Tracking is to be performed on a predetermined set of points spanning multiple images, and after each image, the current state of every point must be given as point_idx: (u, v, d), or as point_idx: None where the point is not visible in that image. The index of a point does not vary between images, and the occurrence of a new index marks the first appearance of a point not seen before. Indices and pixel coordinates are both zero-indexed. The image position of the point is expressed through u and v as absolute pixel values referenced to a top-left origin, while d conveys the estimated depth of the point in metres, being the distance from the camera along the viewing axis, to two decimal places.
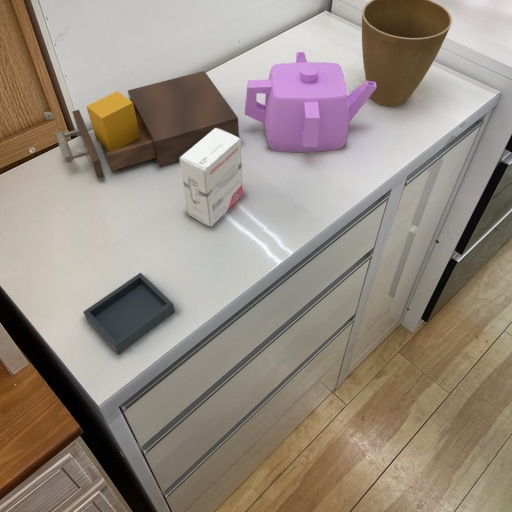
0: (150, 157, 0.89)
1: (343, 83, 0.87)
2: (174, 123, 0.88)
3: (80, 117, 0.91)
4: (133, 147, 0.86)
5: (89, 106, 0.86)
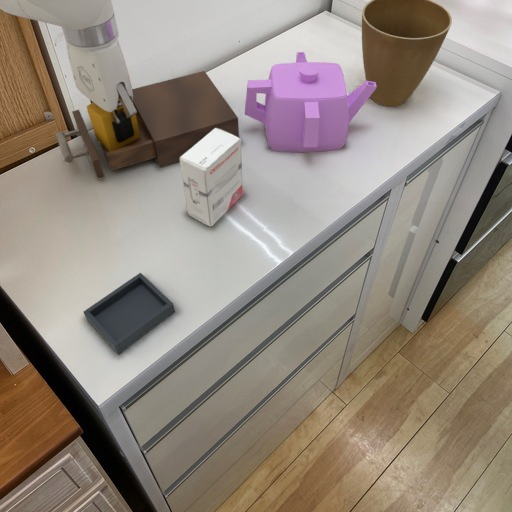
0: (150, 157, 0.89)
1: (343, 83, 0.87)
2: (174, 123, 0.88)
3: (80, 117, 0.91)
4: (133, 147, 0.86)
5: (89, 106, 0.86)
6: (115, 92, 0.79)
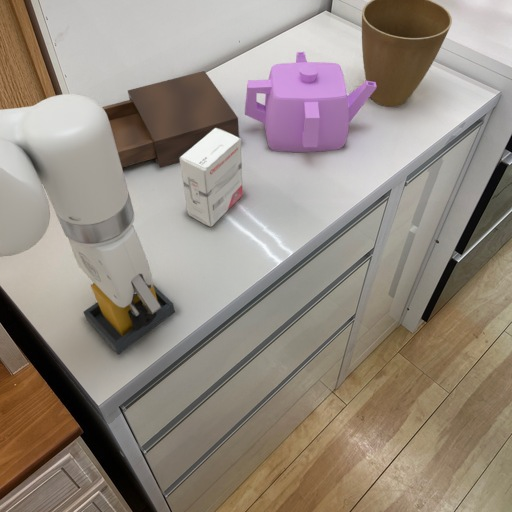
0: (150, 157, 0.89)
1: (343, 83, 0.87)
2: (174, 123, 0.88)
3: None
4: (133, 147, 0.86)
5: (94, 286, 0.65)
6: (130, 288, 0.59)
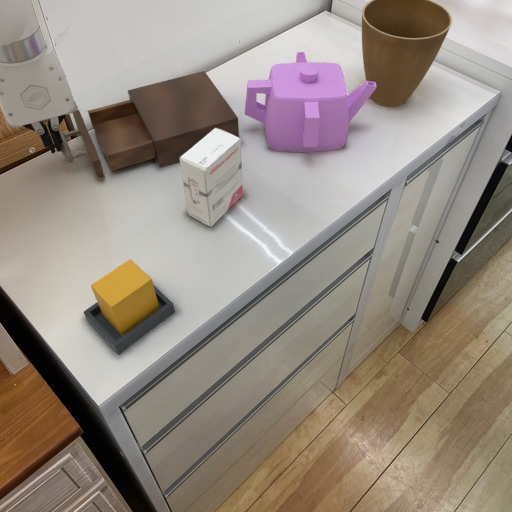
0: (150, 157, 0.89)
1: (343, 83, 0.87)
2: (174, 123, 0.88)
3: (80, 117, 0.91)
4: (133, 147, 0.86)
5: (94, 286, 0.65)
6: None
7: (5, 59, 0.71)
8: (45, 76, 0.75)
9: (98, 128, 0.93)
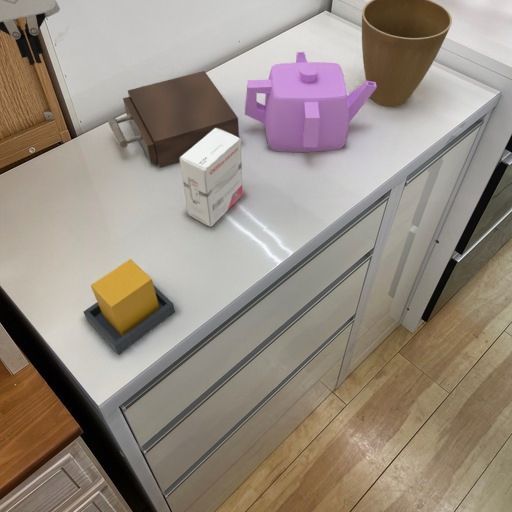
0: None
1: (343, 83, 0.87)
2: (174, 123, 0.88)
3: (131, 104, 0.93)
4: None
5: (94, 286, 0.65)
6: None
7: None
8: None
9: None
